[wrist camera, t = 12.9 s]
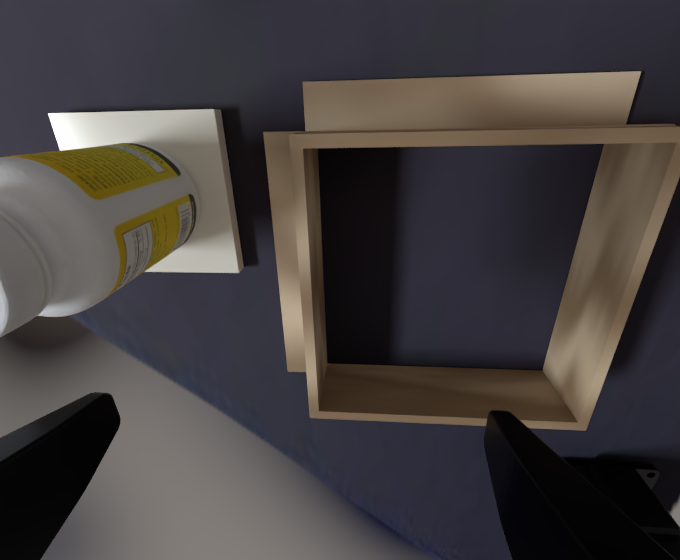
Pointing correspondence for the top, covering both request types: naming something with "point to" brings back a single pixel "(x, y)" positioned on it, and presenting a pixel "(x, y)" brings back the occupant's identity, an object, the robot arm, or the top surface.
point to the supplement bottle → (86, 225)
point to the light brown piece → (477, 130)
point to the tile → (196, 159)
